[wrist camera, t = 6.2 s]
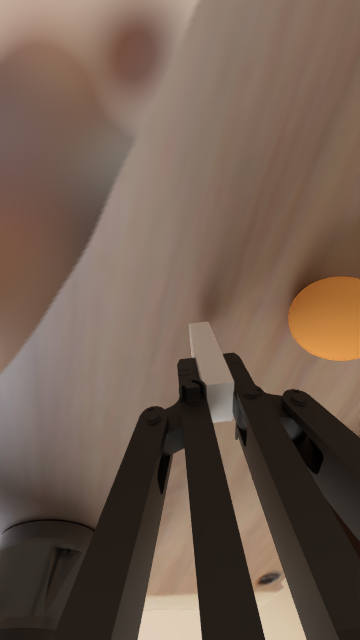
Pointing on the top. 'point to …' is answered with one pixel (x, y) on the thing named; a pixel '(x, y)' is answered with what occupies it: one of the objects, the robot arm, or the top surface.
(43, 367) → the top surface
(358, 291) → the ball
